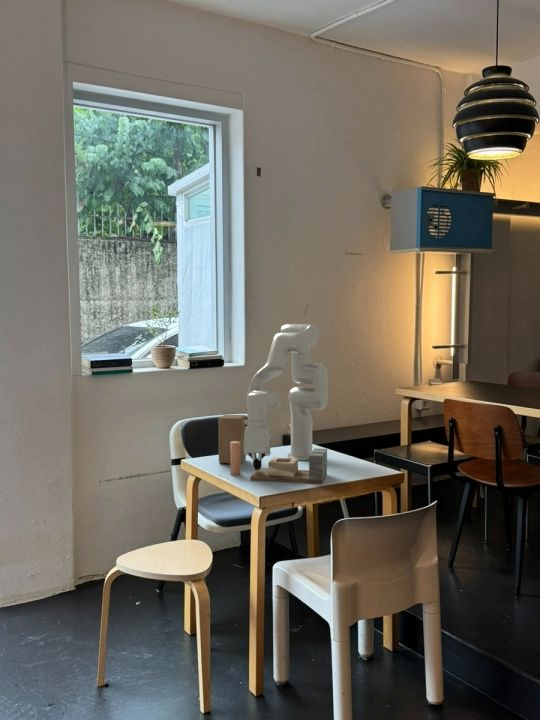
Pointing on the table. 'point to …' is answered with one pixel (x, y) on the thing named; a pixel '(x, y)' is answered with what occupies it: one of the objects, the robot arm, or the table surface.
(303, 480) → the backstop board
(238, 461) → the dowel
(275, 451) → the table surface
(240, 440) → the block
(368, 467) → the table surface
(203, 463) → the table surface
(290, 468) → the sliding block
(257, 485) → the table surface
